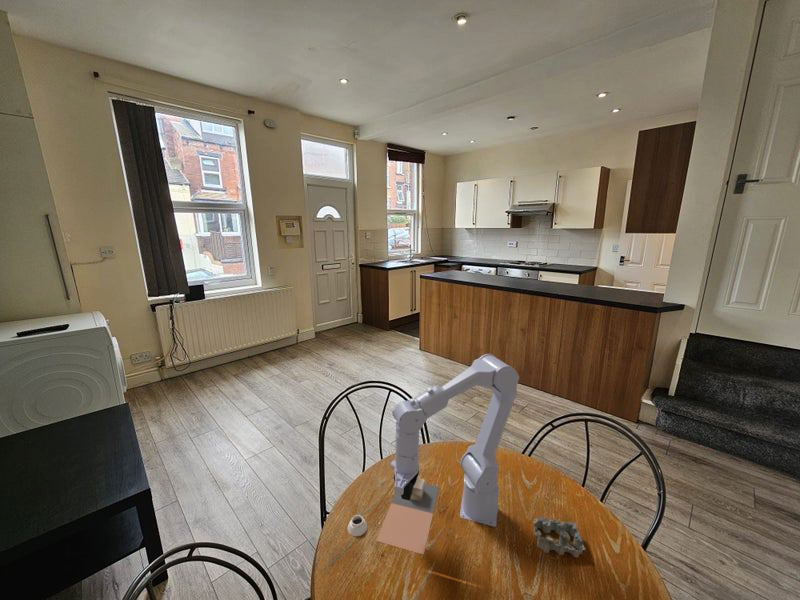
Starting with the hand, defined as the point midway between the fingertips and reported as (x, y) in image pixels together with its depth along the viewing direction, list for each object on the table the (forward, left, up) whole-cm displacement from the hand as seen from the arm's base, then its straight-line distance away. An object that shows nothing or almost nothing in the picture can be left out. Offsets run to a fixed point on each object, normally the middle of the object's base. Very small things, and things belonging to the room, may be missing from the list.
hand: (406, 497), depth 81 cm
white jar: (+12, +4, -10) cm, 16 cm away
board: (0, -6, -9) cm, 11 cm away
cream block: (0, -11, -9) cm, 14 cm away
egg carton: (-37, -8, -10) cm, 39 cm away
